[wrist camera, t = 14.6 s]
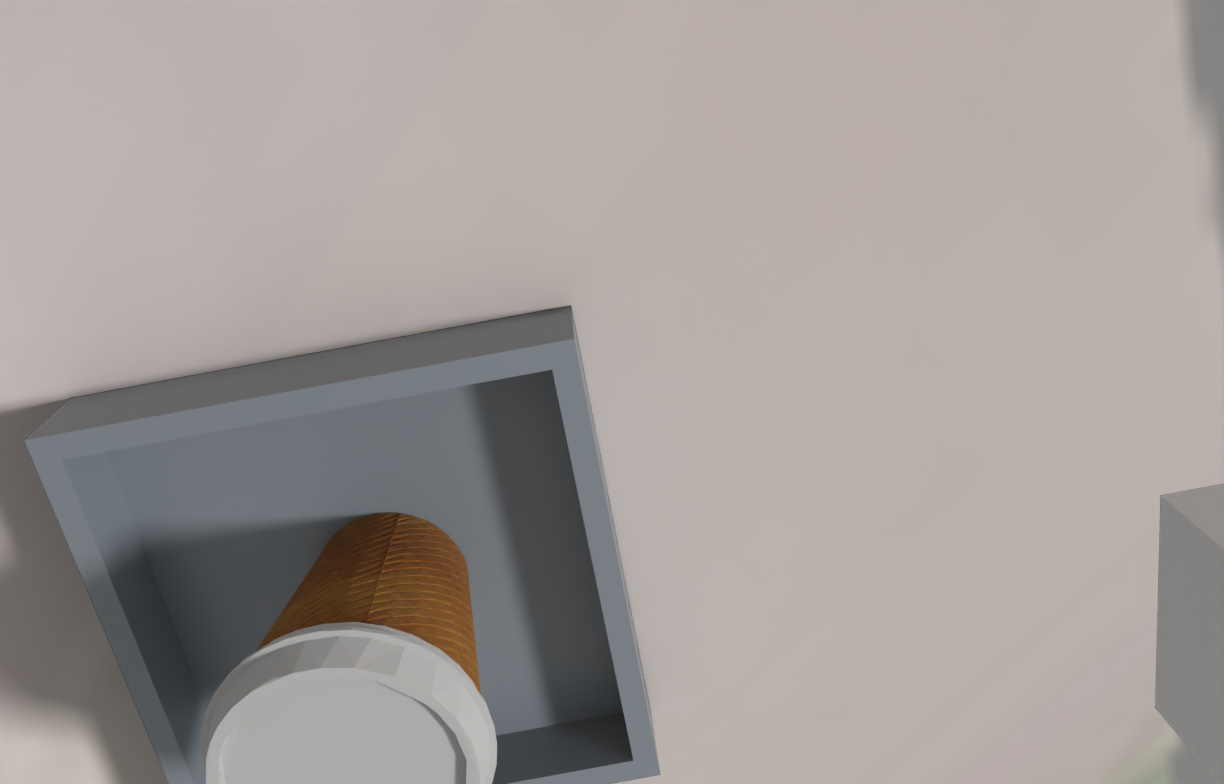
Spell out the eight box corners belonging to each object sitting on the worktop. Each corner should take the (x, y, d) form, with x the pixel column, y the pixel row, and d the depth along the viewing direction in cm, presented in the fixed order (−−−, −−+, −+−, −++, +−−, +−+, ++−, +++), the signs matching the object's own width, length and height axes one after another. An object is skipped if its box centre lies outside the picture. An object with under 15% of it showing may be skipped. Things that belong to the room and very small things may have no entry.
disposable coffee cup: (460, 447, 43) (432, 616, 32) (537, 636, 46) (535, 848, 35) (239, 515, 43) (134, 705, 32) (331, 697, 47) (265, 925, 36)
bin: (69, 398, 42) (24, 440, 38) (571, 305, 42) (574, 338, 38) (225, 791, 49) (200, 858, 46) (651, 713, 49) (660, 774, 46)
